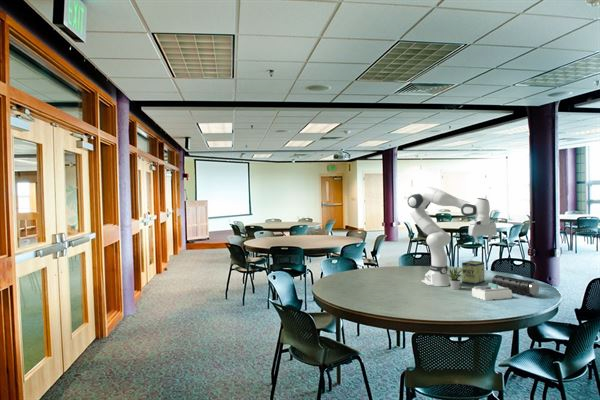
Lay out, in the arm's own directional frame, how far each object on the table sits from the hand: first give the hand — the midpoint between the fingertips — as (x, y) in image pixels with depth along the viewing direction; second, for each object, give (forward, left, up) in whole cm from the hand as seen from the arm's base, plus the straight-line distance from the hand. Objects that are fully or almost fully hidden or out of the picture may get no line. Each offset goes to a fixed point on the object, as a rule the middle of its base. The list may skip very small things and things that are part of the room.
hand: (483, 242), depth 263 cm
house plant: (-13, -12, -34) cm, 39 cm away
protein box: (-28, +14, -34) cm, 47 cm away
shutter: (+12, +1, -29) cm, 31 cm away
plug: (+12, -8, -33) cm, 36 cm away
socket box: (+12, -4, -34) cm, 36 cm away
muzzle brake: (+8, +18, -34) cm, 40 cm away
